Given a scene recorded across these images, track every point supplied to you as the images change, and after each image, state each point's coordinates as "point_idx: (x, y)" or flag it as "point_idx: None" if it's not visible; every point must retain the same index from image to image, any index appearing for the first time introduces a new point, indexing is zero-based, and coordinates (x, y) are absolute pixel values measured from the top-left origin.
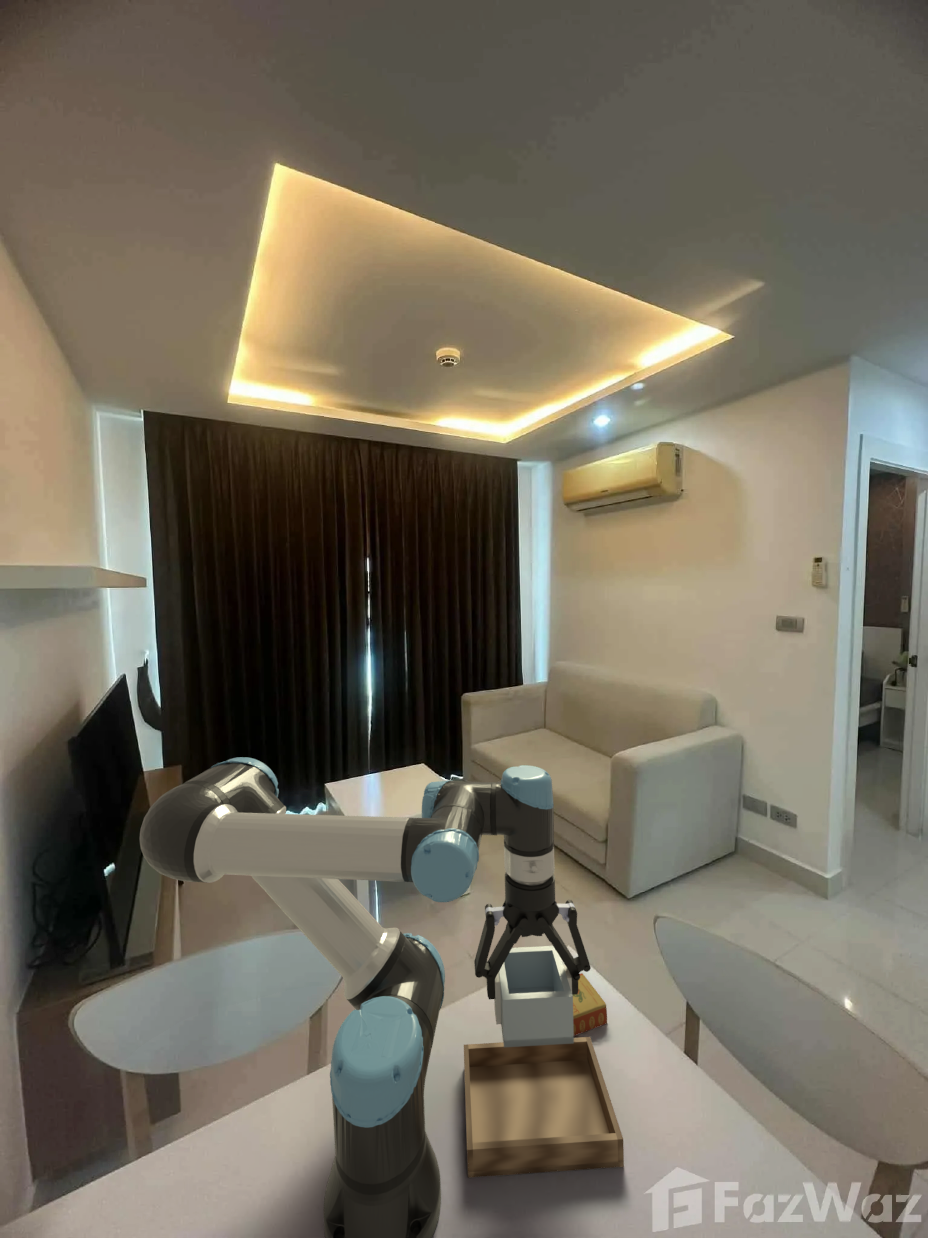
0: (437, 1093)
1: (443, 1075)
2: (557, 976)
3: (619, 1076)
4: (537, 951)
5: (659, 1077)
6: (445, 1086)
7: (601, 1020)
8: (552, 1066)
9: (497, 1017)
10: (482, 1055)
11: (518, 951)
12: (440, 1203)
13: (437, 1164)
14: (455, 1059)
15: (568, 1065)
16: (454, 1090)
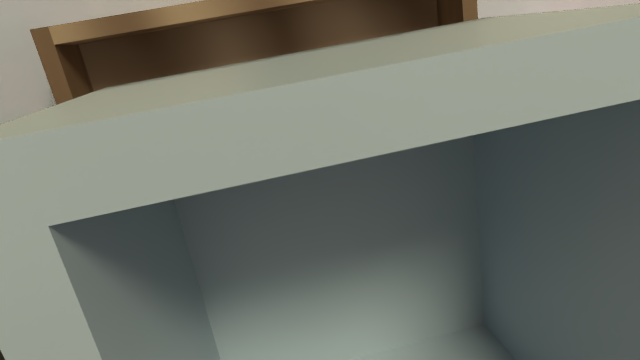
0: (5, 119)
1: (2, 63)
2: (603, 276)
3: (503, 12)
4: (523, 120)
5: (596, 4)
6: (22, 96)
7: None
8: (334, 14)
9: None
10: (112, 36)
11: (278, 167)
12: None
13: None
14: (23, 4)
15: (380, 7)
16: (54, 104)
